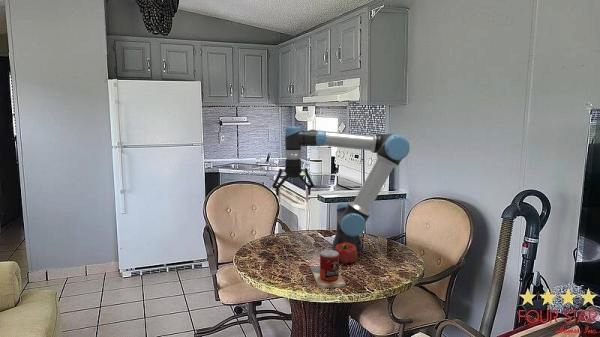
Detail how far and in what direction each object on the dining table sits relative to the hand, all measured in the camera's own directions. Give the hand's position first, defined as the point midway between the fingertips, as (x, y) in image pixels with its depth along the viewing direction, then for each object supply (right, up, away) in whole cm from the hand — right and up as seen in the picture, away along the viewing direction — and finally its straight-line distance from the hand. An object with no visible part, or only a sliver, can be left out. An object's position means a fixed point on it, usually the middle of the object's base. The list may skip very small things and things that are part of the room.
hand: (293, 202), depth 206 cm
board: (+15, -30, -26) cm, 42 cm away
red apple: (+25, -28, -7) cm, 38 cm away
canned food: (+15, -29, -31) cm, 46 cm away
